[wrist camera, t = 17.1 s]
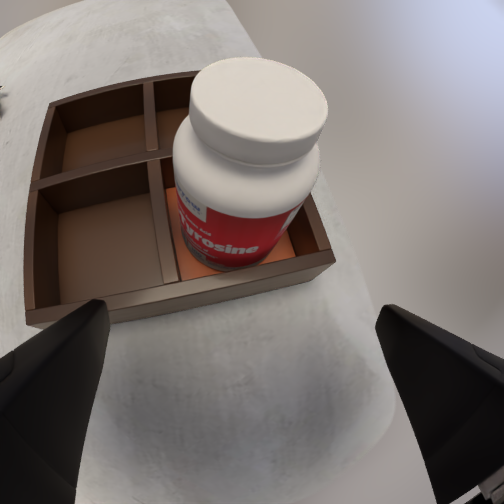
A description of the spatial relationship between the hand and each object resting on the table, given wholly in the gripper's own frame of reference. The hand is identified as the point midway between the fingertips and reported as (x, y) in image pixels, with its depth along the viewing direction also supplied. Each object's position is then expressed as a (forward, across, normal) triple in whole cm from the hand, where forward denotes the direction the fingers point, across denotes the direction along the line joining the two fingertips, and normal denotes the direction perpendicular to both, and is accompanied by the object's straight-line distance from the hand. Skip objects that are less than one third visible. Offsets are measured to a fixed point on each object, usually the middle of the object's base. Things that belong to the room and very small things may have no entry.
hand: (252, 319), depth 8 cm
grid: (+13, +5, -1) cm, 14 cm away
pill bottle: (+11, 0, +1) cm, 11 cm away
